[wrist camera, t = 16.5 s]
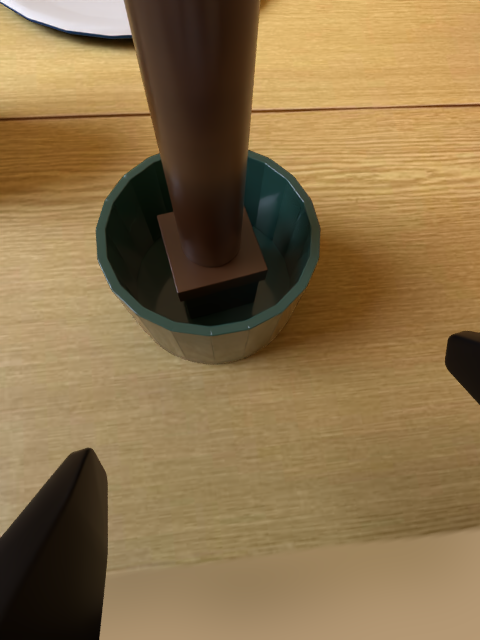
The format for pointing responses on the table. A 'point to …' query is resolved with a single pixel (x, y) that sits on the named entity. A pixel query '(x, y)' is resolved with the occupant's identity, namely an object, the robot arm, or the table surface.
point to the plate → (77, 16)
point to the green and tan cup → (157, 280)
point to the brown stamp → (203, 141)
